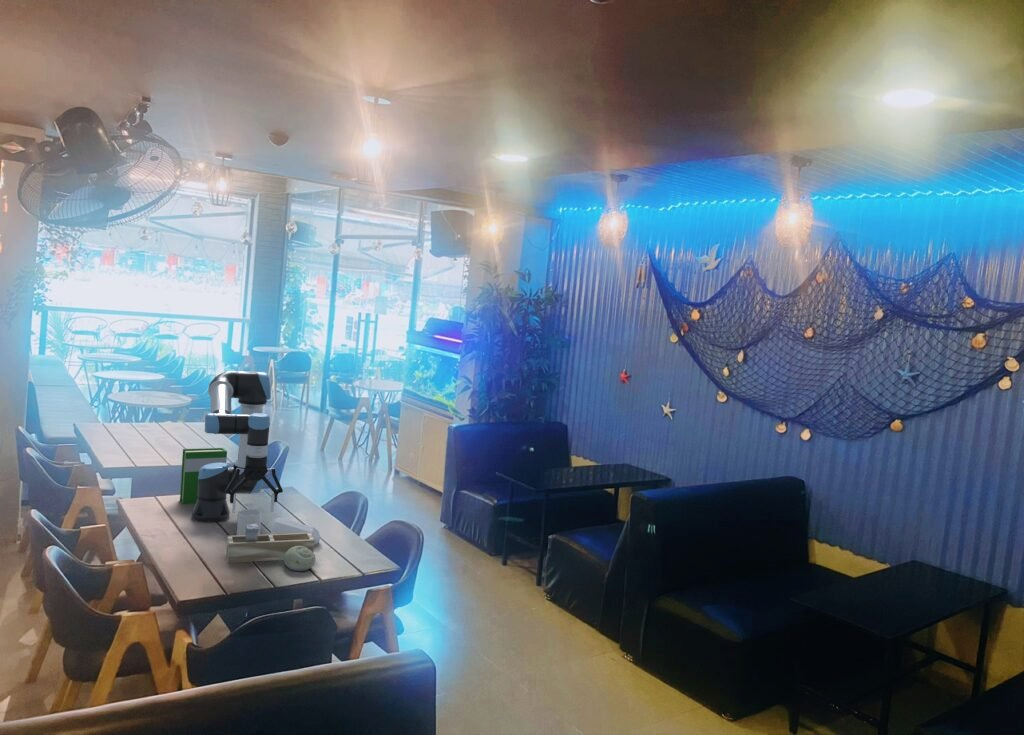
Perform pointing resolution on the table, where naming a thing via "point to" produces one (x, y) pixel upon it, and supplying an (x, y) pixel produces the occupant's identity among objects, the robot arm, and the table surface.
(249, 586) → the table surface
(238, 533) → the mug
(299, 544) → the well block
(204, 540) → the table surface
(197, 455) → the hardback book
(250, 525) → the pale blue pillar block
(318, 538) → the crystal
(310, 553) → the seashell
